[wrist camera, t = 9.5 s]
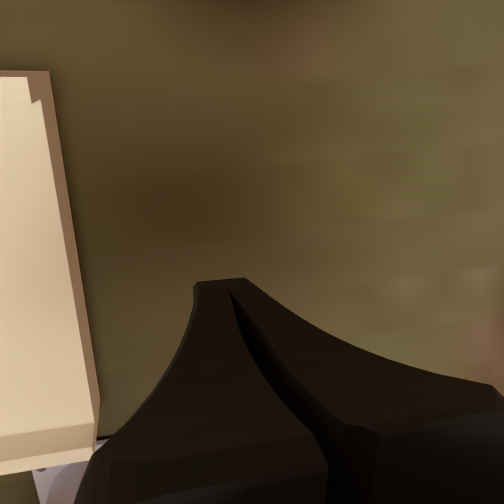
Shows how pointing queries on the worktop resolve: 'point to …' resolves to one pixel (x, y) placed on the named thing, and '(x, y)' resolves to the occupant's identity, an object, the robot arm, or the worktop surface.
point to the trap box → (40, 291)
